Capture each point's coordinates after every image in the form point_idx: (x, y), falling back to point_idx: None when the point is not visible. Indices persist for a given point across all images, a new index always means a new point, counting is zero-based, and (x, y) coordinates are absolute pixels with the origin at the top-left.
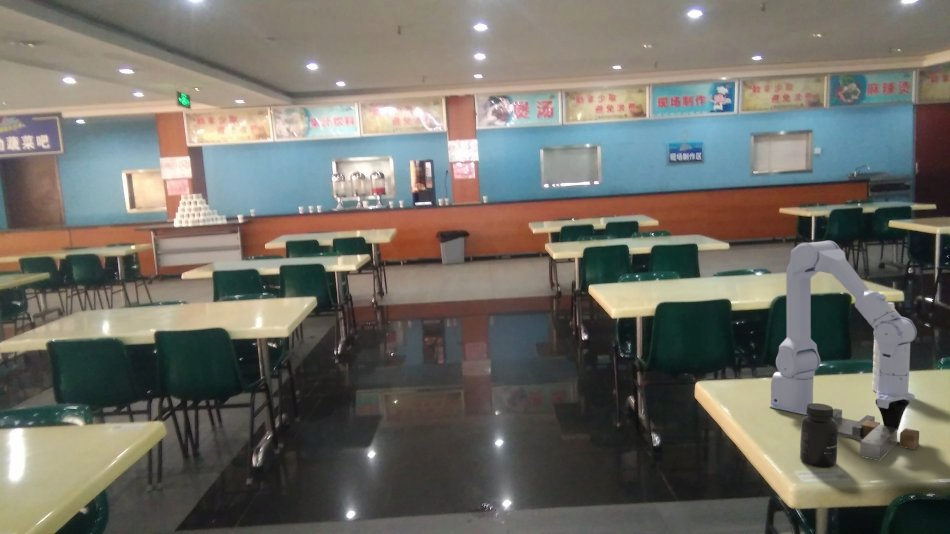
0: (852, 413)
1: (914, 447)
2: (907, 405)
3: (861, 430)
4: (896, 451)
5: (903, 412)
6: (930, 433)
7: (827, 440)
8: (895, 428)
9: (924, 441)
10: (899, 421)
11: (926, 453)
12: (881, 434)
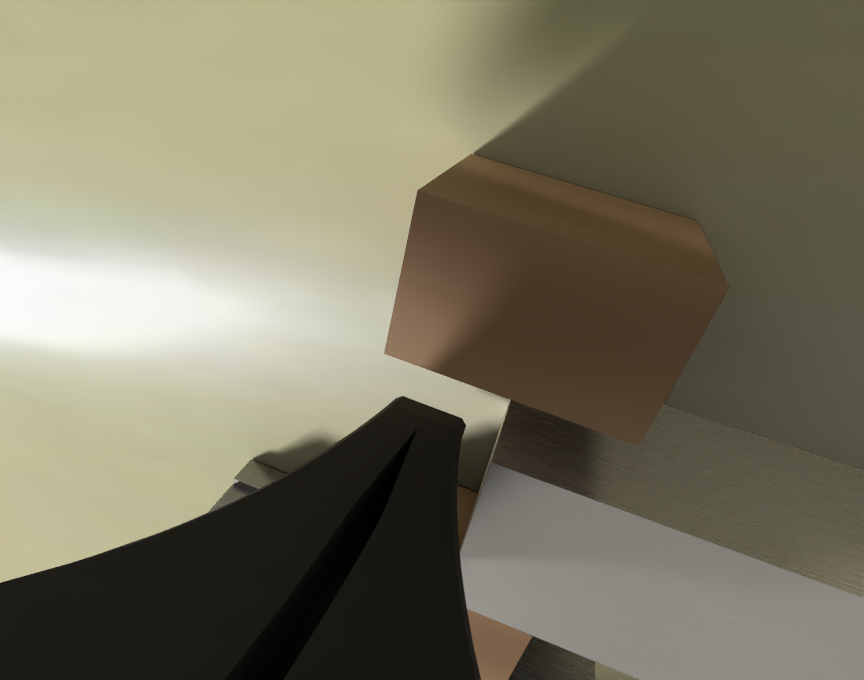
0: (69, 525)
1: (661, 213)
2: (41, 602)
3: (557, 670)
4: (832, 398)
5: (219, 524)
6: (62, 21)
7: None
8: (512, 483)
9: (343, 88)
10: (377, 478)
11: (813, 68)
12: (857, 676)
